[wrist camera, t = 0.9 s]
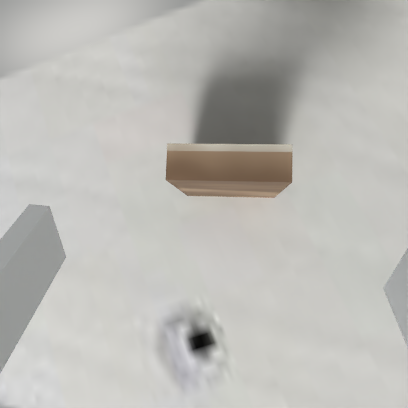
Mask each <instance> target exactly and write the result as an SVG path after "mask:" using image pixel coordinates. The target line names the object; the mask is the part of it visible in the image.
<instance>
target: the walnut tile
mask: <svg viewBox="0 0 408 408" xmlns="http://www.w3.org/2000/svg"><path fill="white" fill-rule="evenodd" d="M166 180H167V181H168V182H169V183H171V184H172V185H174V186H175V187H176V188H178V189H179V190H181V191H182V192H183V193H185V194H186V195H187V196H222V197H265V198H274V197H276V196H277V195H278V194H279V193H280V192H281V191H282V190H284V189H285V188H286V187H287V186H288V185H289V184H291V183H292V144H167V165H166Z"/></svg>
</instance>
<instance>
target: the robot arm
mask: <svg viewBox="0 0 408 408" xmlns="http://www.w3.org/2000/svg"><path fill="white" fill-rule="evenodd" d="M65 258H66V255H65V252H64V249H63V246H62V243H61V240H60V237H59V234H58V231H57V228H56V225H55V222H54V218H53V215H52V212H51V209H50V206H42V205H31V204H29V205H28V207H27V208H26V209H25V210H24V212H23V213H22V214H21V215H20V216H19V218H18V219H17V220H16V221H15V223H14V224H13V225H12V226H11V227H10V229H9V230H8V231H7V232H6V233H5V235H4V236H3V237H2V238H1V240H0V373H1V371H2V369H3V368H4V366H5V364H6V362H7V361H8V359H9V357H10V355H11V353H12V352H13V350H14V348H15V346H16V345H17V343H18V341H19V339H20V338H21V336H22V334H23V332H24V330H25V329H26V327H27V325H28V323H29V322H30V320H31V318H32V316H33V315H34V313H35V311H36V309H37V307H38V306H39V304H40V302H41V300H42V299H43V297H44V295H45V293H46V292H47V290H48V288H49V286H50V285H51V283H52V281H53V279H54V277H55V276H56V274H57V272H58V270H59V269H60V267H61V265H62V263H63V262H64V260H65ZM383 289H384V291H385V294H386V296H387V298H388V301H389V303H390V306H391V308H392V311H393V313H394V316H395V318H396V320H397V323H398V325H399V328H400V330H401V333H402V335H403V337H404V340H405V342H406V345H407V347H408V249H407V251H406V252H405V254H404V255H403V257H402V259H401V260H400V262H399V264H398V265H397V267H396V268H395V270H394V272H393V273H392V275H391V277H390V278H389V280H388V281H387V283H386V285H385V286H384V288H383Z"/></svg>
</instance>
